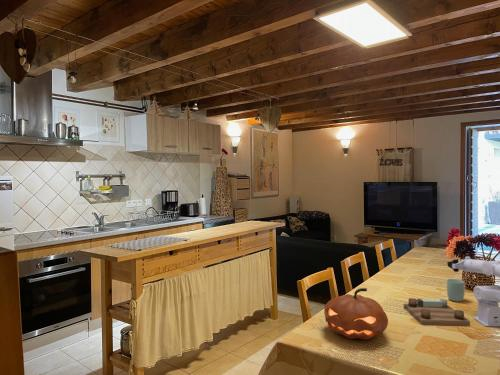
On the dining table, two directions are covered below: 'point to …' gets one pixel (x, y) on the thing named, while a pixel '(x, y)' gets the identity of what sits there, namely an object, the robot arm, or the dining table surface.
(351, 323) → the pumpkin
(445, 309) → the stool seat
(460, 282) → the cup
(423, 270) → the dining table surface
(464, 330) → the dining table surface
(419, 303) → the swing leg
